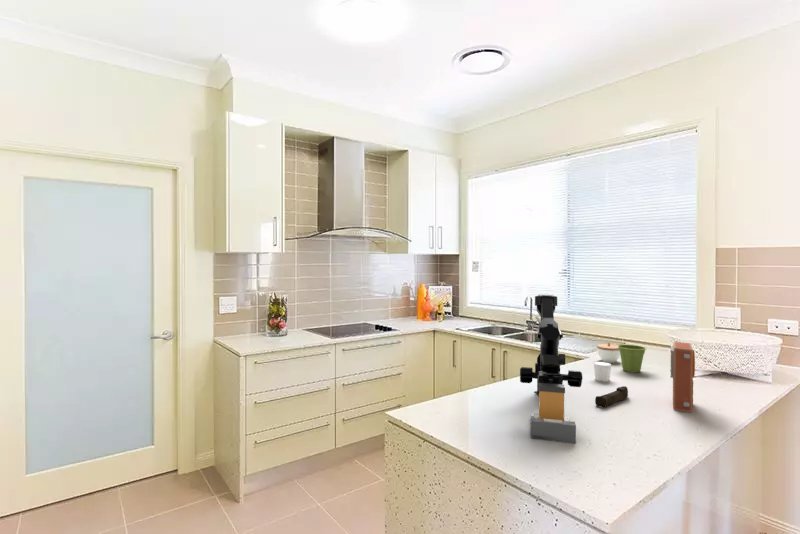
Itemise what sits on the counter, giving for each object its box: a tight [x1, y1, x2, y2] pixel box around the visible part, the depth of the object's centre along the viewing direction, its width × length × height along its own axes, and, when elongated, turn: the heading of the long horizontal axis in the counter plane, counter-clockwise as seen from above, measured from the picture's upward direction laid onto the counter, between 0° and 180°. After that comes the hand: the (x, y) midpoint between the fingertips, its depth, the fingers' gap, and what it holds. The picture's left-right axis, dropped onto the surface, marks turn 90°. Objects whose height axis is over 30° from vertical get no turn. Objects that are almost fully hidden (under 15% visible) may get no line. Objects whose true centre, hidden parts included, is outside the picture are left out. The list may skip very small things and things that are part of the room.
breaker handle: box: [538, 383, 566, 421], centre depth 130 cm, size 3×7×12 cm, turn 74°
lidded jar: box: [596, 342, 621, 364], centre depth 217 cm, size 11×11×9 cm
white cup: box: [593, 361, 612, 382], centre depth 184 cm, size 7×7×7 cm
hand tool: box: [594, 385, 629, 409], centre depth 154 cm, size 19×4×5 cm, turn 123°
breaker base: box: [530, 412, 577, 444], centre depth 129 cm, size 16×12×5 cm
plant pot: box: [617, 344, 647, 373], centre depth 198 cm, size 12×12×11 cm
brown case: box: [669, 341, 696, 413], centre depth 150 cm, size 21×7×15 cm
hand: (551, 401), depth 132 cm, fingers closed, pressing on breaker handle
